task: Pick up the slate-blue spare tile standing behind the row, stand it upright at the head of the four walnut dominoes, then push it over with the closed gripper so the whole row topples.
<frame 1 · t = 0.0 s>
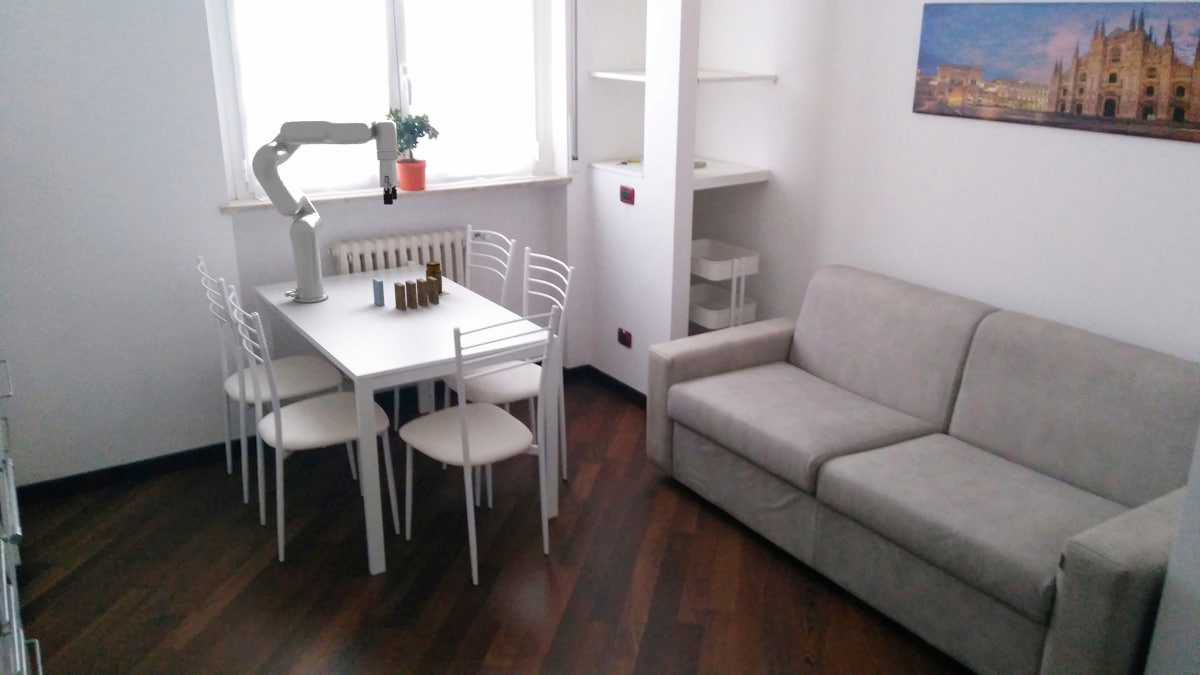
hand: (390, 201, 341), 37 cm above the table, tool pointing down, fingers open, 9 cm apart
domino1: (379, 304, 346), on the table
condiment: (435, 293, 360), on the table
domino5: (433, 302, 348), on the table
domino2: (401, 308, 340), on the table
domino4: (423, 304, 346), on the table
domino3: (412, 306, 343), on the table
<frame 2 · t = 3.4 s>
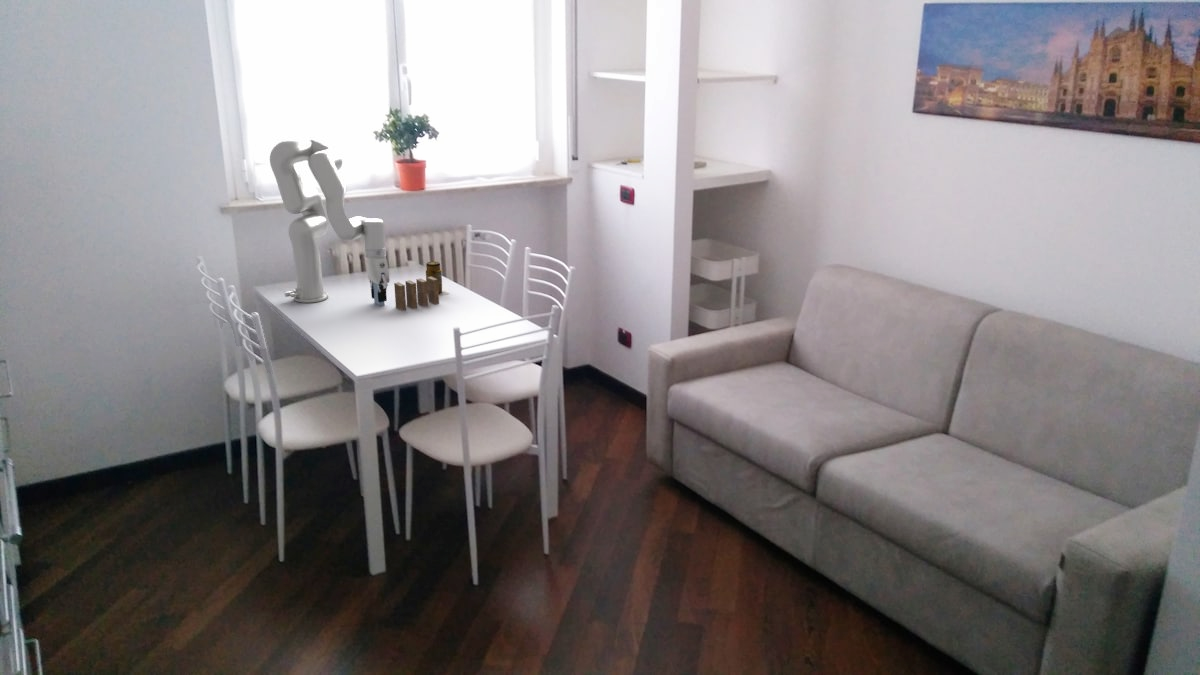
hand: (379, 299, 345), 2 cm above the table, tool pointing down, fingers closed on domino1, 4 cm apart
domino1: (379, 304, 346), on the table, touching gripper
everything else where it was.
when the fingers open (3 cm above the table, at t = 8.0 s): domino1 stays where it is, on the table.
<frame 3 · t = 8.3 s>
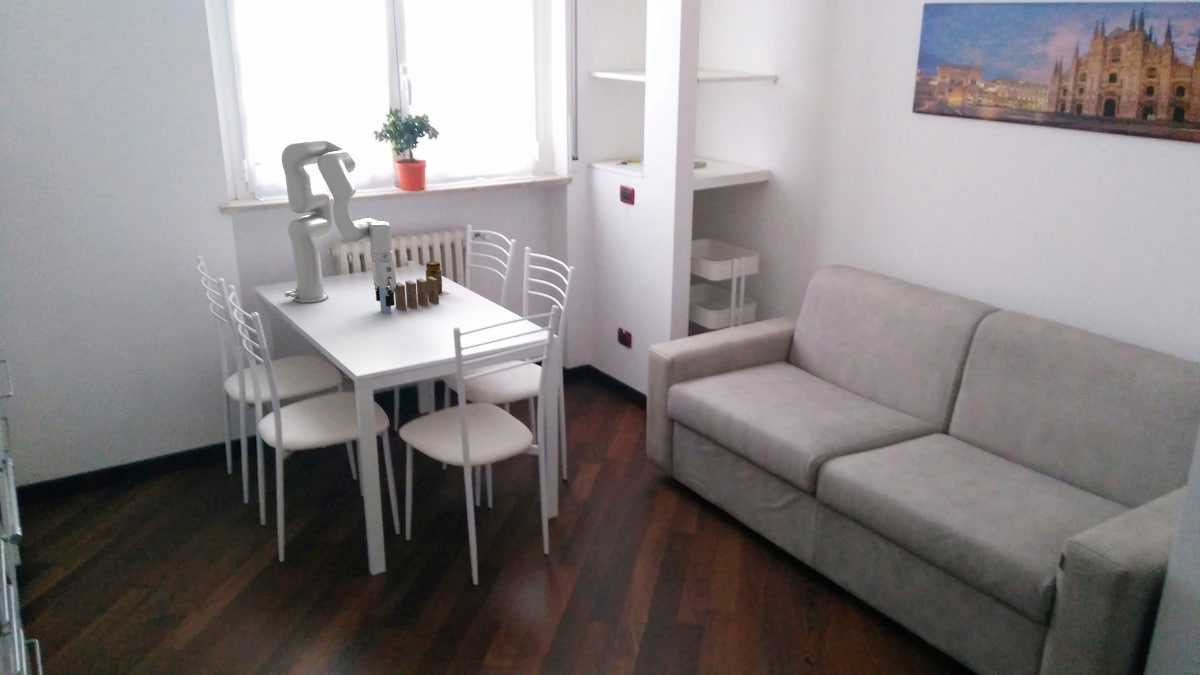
hand: (385, 302, 336), 3 cm above the table, tool pointing down, fingers open, 7 cm apart
domino1: (386, 311, 337), on the table
everything else where it was.
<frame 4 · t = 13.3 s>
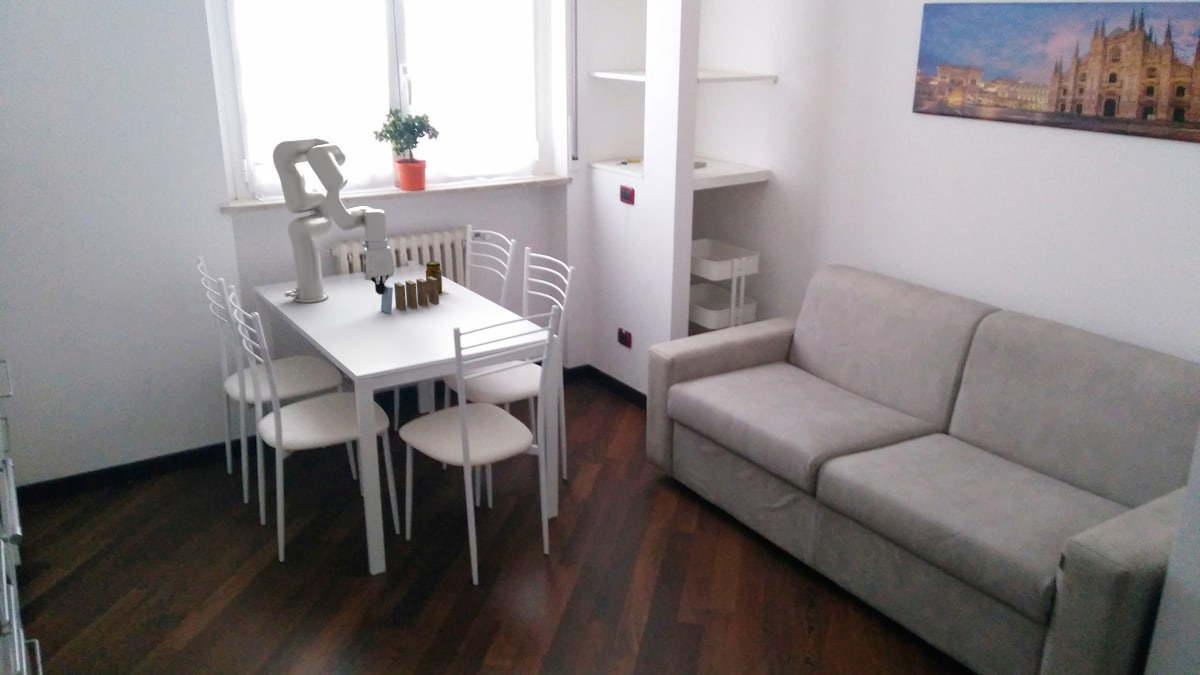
hand: (380, 293, 333), 7 cm above the table, tool pointing down, fingers closed
domino1: (386, 311, 337), on the table, tilted 7°
everything else where it was.
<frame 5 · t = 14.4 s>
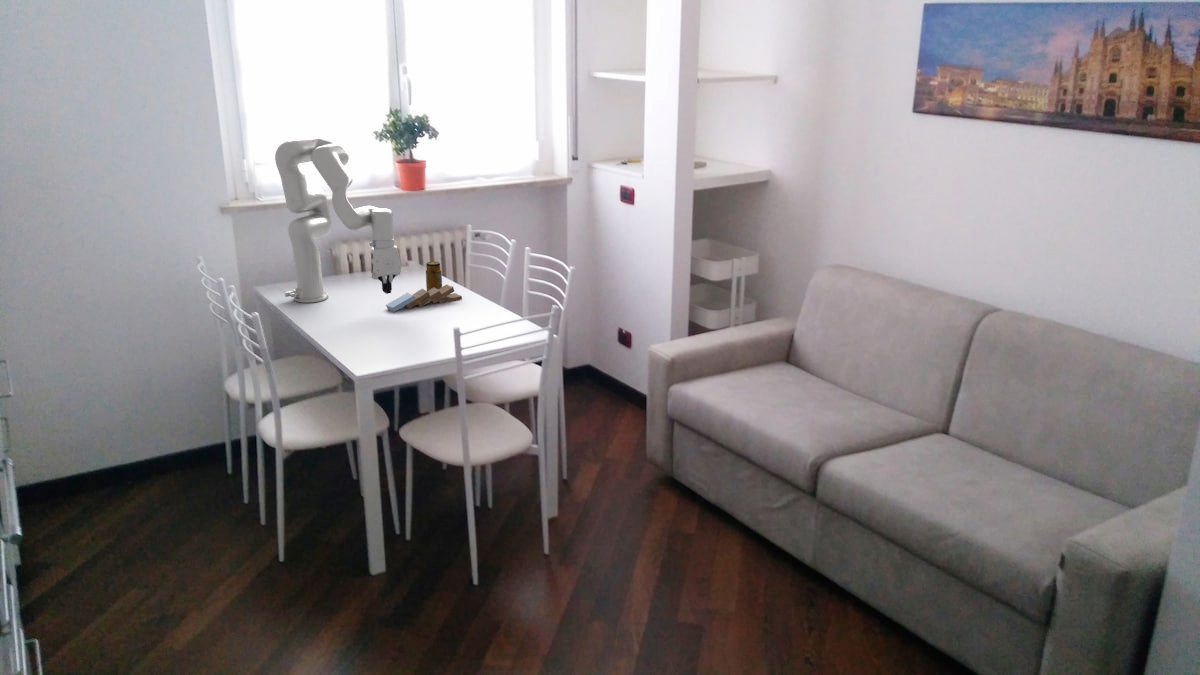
hand: (387, 292, 335), 7 cm above the table, tool pointing down, fingers closed
domino1: (389, 308, 337), point 1 cm above the table, tilted 71°, touching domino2
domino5: (436, 301, 349), on the table, tilted 90°, touching domino4
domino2: (405, 305, 341), point 1 cm above the table, tilted 67°, touching domino1, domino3
domino4: (430, 300, 347), point 1 cm above the table, tilted 69°, touching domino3, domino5
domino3: (416, 303, 344), point 1 cm above the table, tilted 68°, touching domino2, domino4
everything else where it was.
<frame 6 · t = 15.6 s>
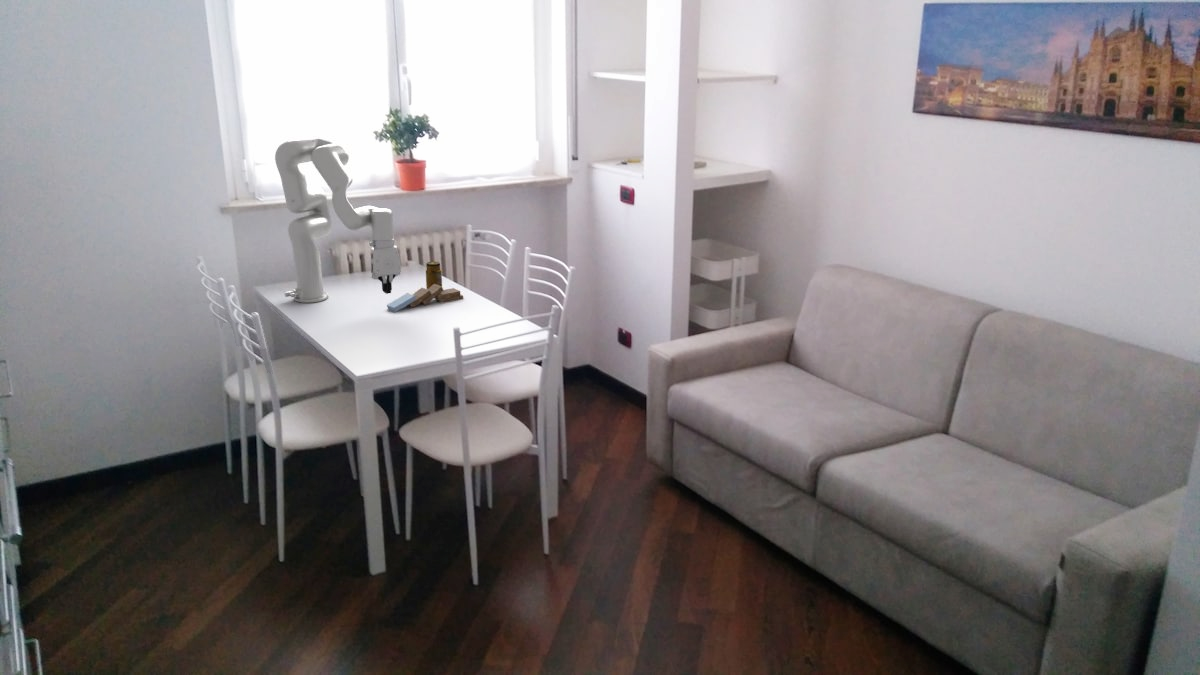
hand: (387, 292, 335), 7 cm above the table, tool pointing down, fingers closed
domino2: (407, 304, 342), point 1 cm above the table, tilted 67°, touching domino1, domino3
domino4: (435, 296, 349), point 2 cm above the table, tilted 90°, touching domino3, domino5
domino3: (420, 302, 345), point 1 cm above the table, tilted 63°, touching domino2, domino4
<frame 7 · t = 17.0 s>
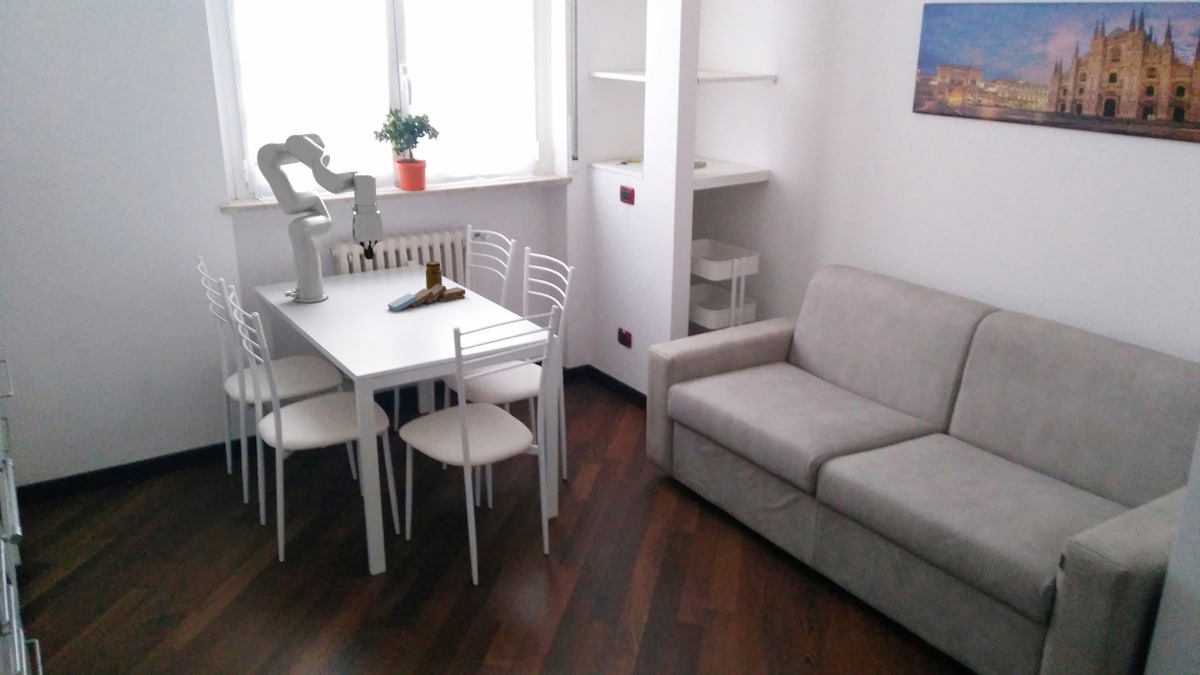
hand: (368, 258, 330), 20 cm above the table, tool pointing down, fingers closed
domino4: (440, 295, 350), point 2 cm above the table, tilted 90°, touching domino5
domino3: (424, 300, 347), point 1 cm above the table, tilted 68°, touching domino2
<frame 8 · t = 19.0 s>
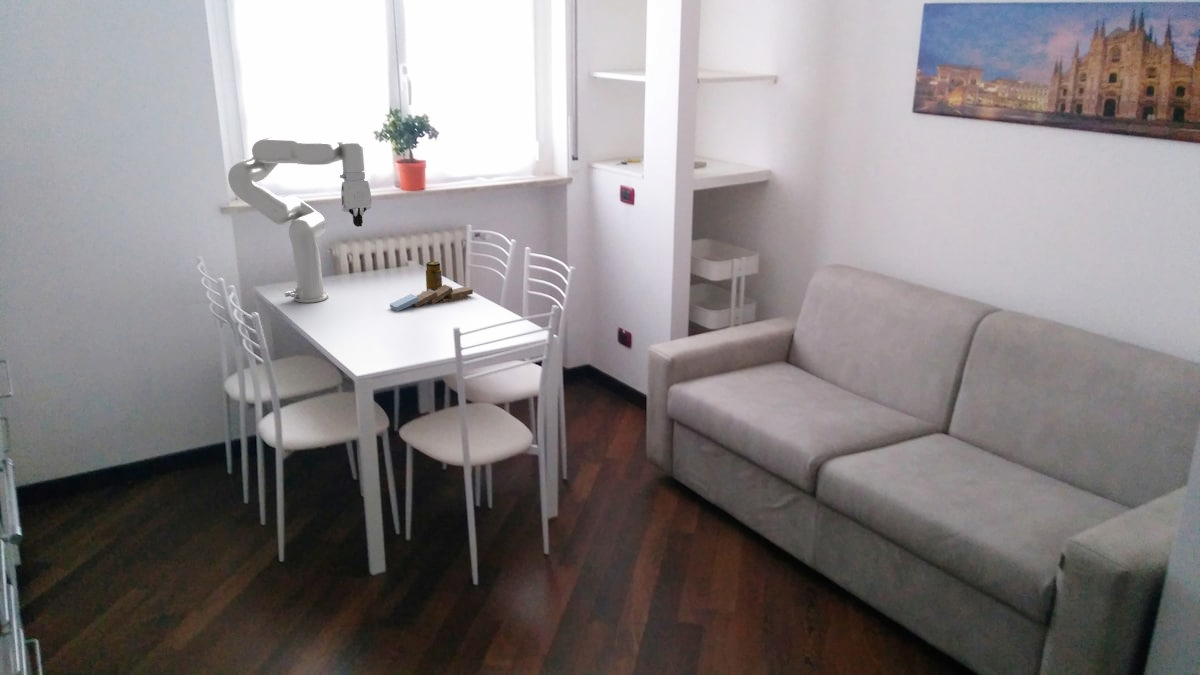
hand: (358, 225, 339), 29 cm above the table, tool pointing down, fingers closed
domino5: (440, 300, 350), on the table, tilted 90°
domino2: (412, 303, 343), point 1 cm above the table, tilted 73°, touching domino1
domino4: (448, 294, 351), point 2 cm above the table, tilted 89°
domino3: (429, 300, 347), point 1 cm above the table, tilted 68°
at the end: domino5 tilted 90°; domino1 tilted 76°; domino1 inside the target area (1.0 cm from its centre), point 0.8 cm above the table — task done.
